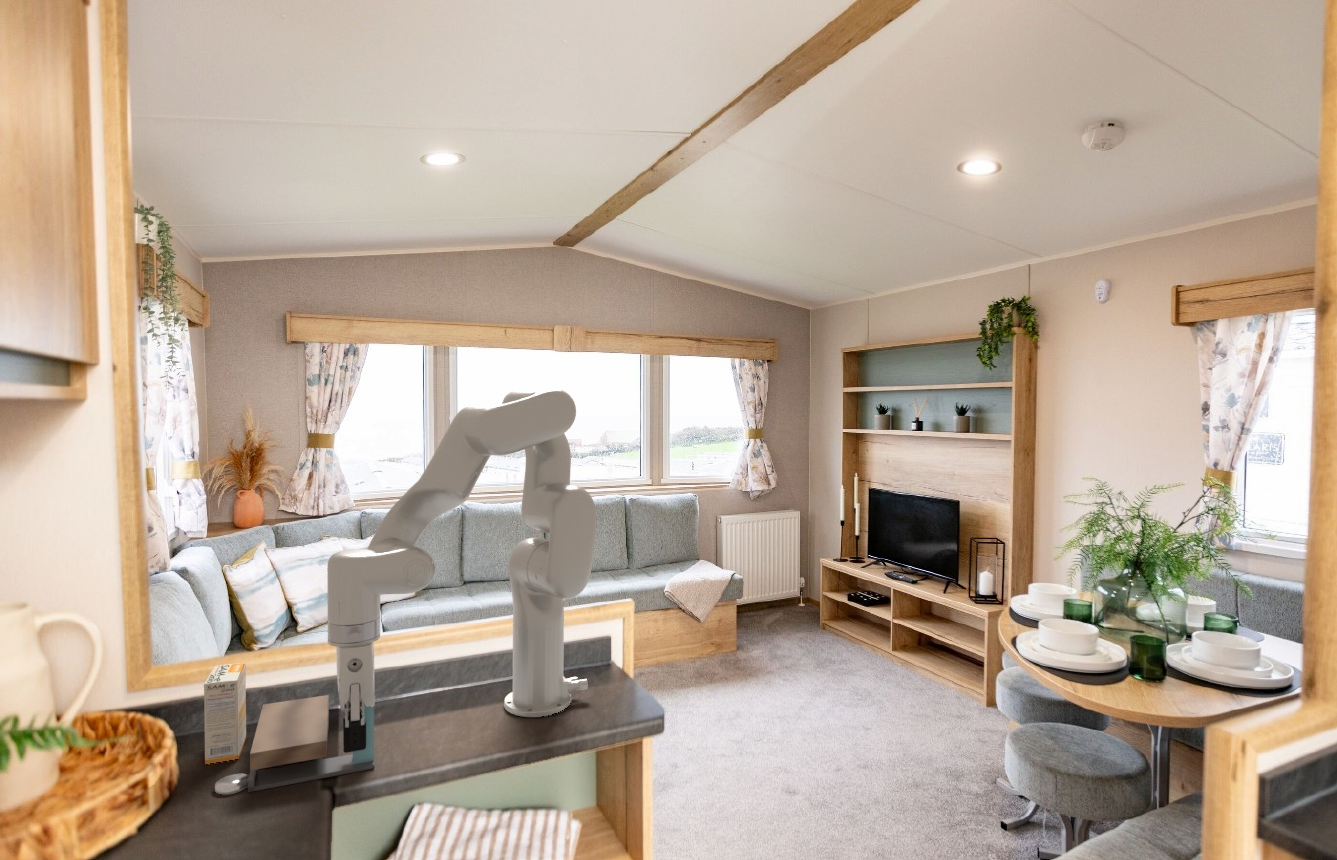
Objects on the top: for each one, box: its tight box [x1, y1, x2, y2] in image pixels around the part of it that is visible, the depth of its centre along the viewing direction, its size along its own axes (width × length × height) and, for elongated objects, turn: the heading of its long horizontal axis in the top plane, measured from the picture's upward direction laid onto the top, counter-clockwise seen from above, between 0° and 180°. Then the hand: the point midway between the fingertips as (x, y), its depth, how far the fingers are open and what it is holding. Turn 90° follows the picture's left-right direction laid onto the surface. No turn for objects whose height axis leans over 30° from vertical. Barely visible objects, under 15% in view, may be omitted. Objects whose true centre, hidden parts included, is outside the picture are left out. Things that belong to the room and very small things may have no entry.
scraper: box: [247, 702, 375, 793], centre depth 108 cm, size 17×5×10 cm, turn 115°
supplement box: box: [203, 662, 247, 765], centre depth 114 cm, size 8×5×13 cm, turn 23°
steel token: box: [214, 773, 249, 796], centre depth 104 cm, size 4×4×1 cm
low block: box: [249, 694, 330, 770], centre depth 113 cm, size 10×18×6 cm, turn 25°
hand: (354, 745), depth 110 cm, fingers closed on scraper
